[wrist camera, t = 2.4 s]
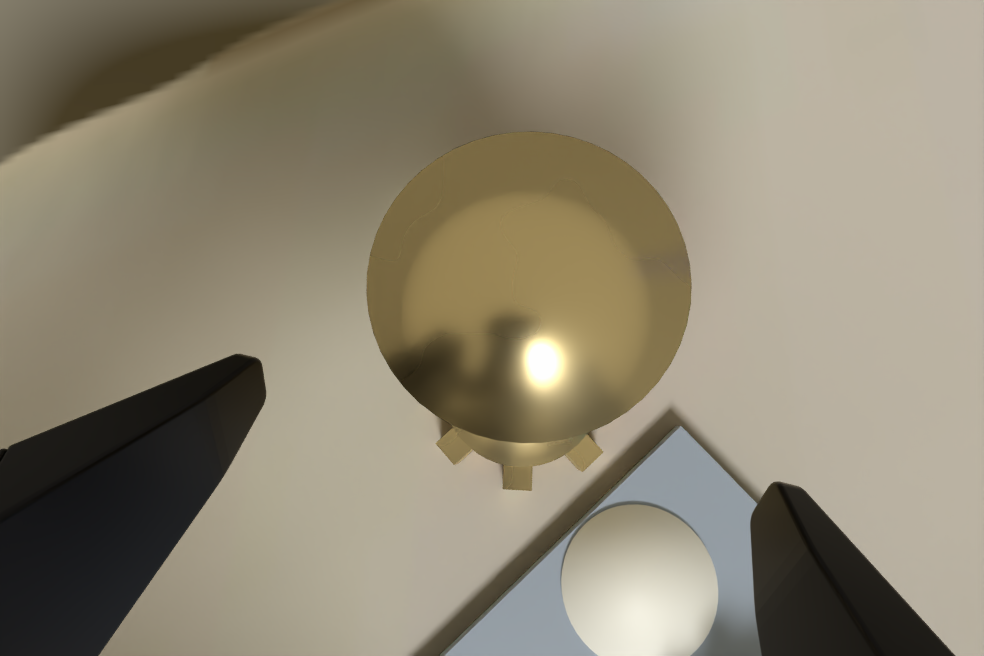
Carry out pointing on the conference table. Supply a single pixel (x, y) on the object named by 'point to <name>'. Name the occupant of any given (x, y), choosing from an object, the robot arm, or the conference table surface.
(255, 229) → the conference table surface
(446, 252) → the gear
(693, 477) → the carrier plate
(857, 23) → the conference table surface
